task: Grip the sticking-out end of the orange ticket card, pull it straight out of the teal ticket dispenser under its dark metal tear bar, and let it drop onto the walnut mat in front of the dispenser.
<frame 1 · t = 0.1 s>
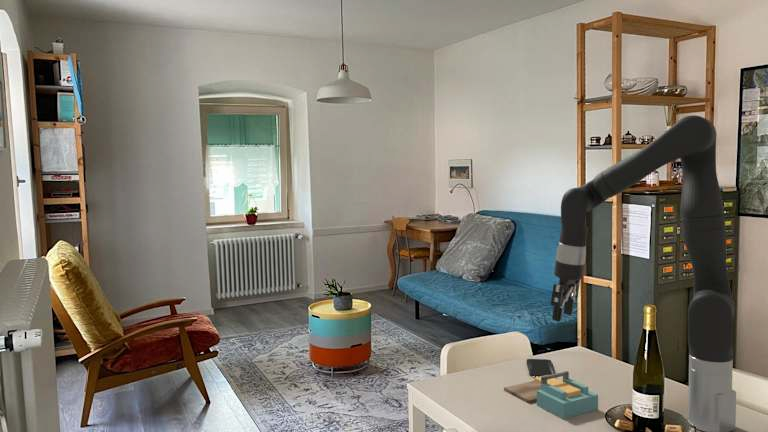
hand: (562, 317, 163), 22 cm above the table, tool pointing down, fingers open, 8 cm apart
phone: (540, 370, 187), on the table
ticket dispenser: (567, 407, 156), on the table
ticket card: (556, 387, 160), point 4 cm above the table, touching ticket dispenser
walnut mat: (535, 391, 168), on the table
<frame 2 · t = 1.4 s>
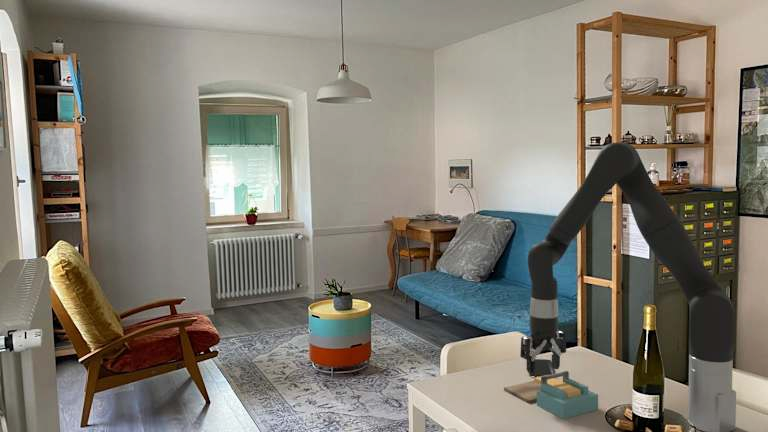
hand: (543, 370, 164), 7 cm above the table, tool pointing down, fingers open, 8 cm apart
nothing on the table moved.
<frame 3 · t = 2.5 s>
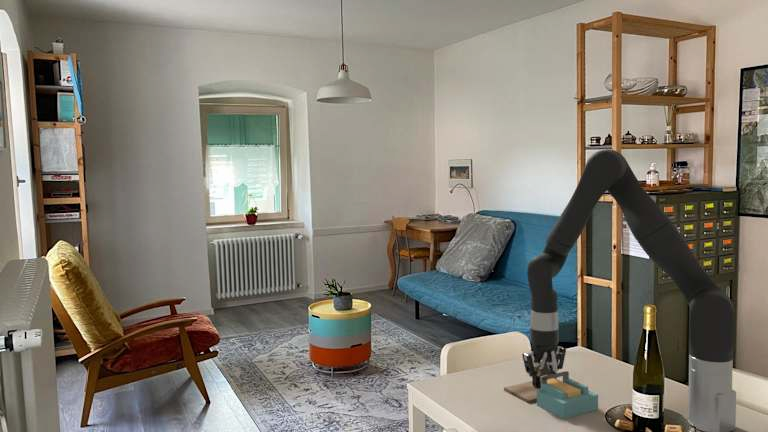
hand: (544, 386, 164), 3 cm above the table, tool pointing down, fingers closed on ticket card, 4 cm apart
ticket card: (556, 388, 160), point 4 cm above the table, touching gripper, ticket dispenser
everything else where it was.
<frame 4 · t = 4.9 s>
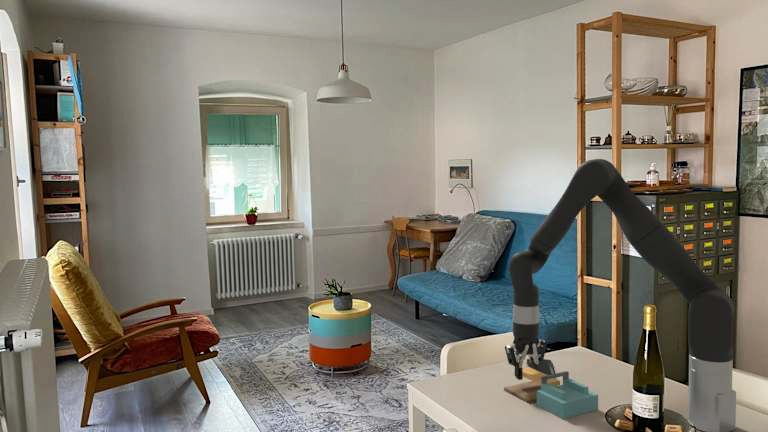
hand: (526, 377, 171), 3 cm above the table, tool pointing down, fingers closed on ticket card, 4 cm apart
ticket card: (537, 378, 166), point 4 cm above the table, touching gripper
everything else where it was.
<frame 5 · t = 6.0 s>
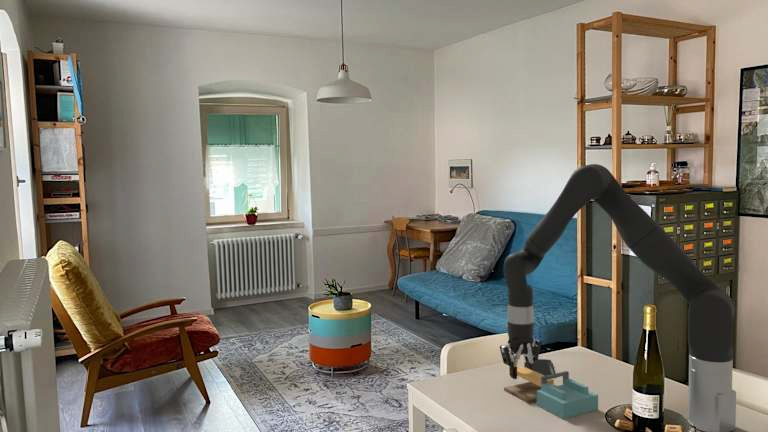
hand: (520, 376, 173), 2 cm above the table, tool pointing down, fingers closed on ticket card, 4 cm apart
ticket card: (531, 378, 169), point 4 cm above the table, touching gripper
everything else where it was.
when the fingers open (2 cm above the table, at t = 6.9 s): ticket card drops 2 cm, resting on walnut mat.
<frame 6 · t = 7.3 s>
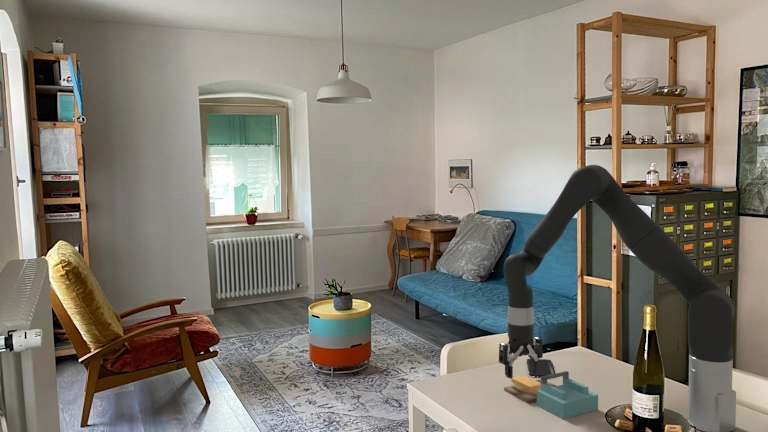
hand: (521, 375, 173), 3 cm above the table, tool pointing down, fingers open, 8 cm apart
ticket card: (531, 387, 169), point 1 cm above the table, touching walnut mat
everything else where it was.
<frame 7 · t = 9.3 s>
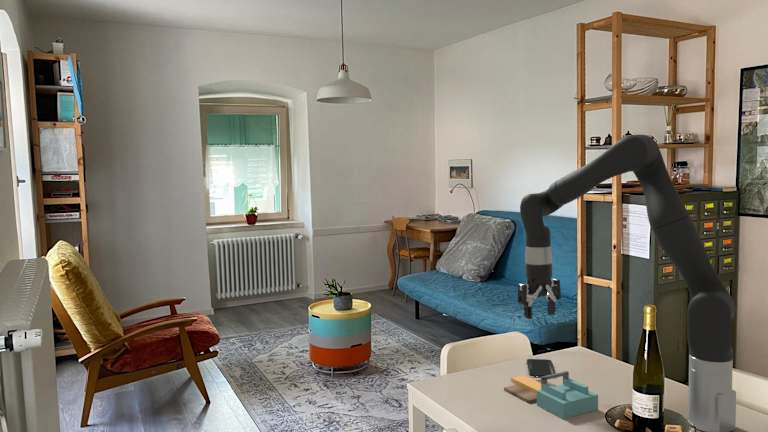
hand: (540, 316, 172), 20 cm above the table, tool pointing down, fingers open, 8 cm apart
nothing on the table moved.
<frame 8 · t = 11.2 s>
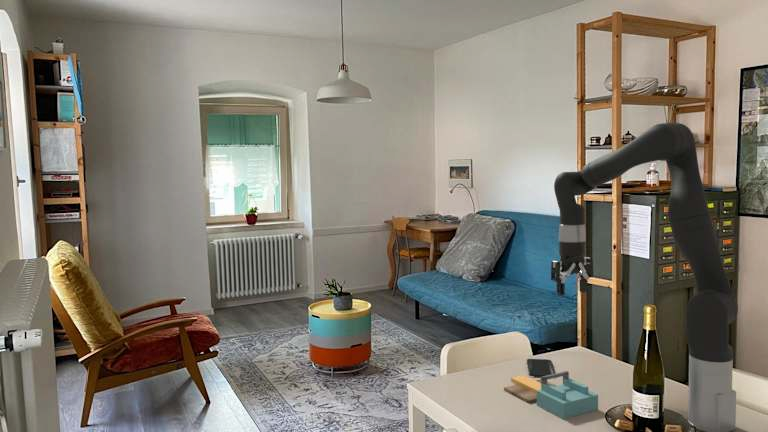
hand: (572, 293, 175), 26 cm above the table, tool pointing down, fingers open, 8 cm apart
nothing on the table moved.
at the end: ticket card inside the target area on the walnut mat (0.6 cm from its centre), point 0.8 cm above the walnut mat's base; ticket card touching walnut mat; the gripper is holding nothing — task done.
